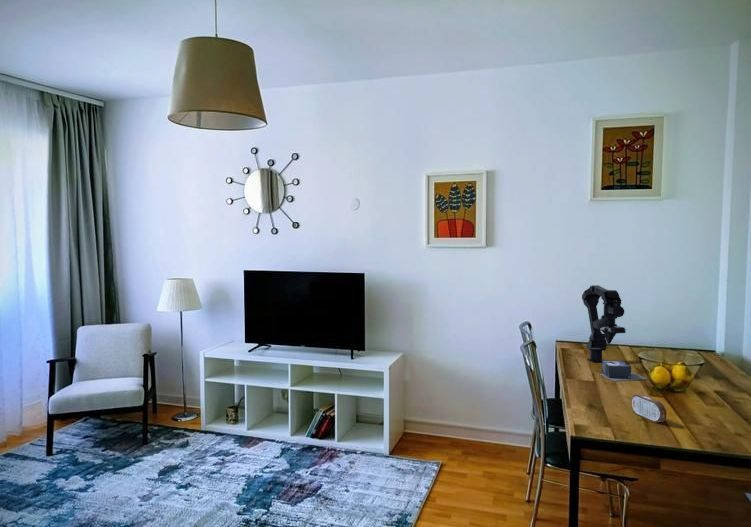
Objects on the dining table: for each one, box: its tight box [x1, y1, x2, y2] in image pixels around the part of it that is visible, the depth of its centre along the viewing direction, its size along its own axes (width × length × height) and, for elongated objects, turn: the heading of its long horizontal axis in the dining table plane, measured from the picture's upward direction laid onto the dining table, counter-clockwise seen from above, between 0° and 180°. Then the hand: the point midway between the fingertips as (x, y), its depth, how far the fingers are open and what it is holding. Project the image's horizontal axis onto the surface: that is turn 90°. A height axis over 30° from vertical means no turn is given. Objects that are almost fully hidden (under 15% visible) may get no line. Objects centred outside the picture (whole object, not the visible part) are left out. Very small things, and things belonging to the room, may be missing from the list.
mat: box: [599, 371, 648, 382], centre depth 251 cm, size 12×18×1 cm, turn 101°
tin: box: [630, 393, 667, 423], centre depth 194 cm, size 15×3×8 cm, turn 17°
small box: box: [601, 360, 632, 379], centre depth 252 cm, size 11×6×10 cm
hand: (608, 343), depth 266 cm, fingers closed
